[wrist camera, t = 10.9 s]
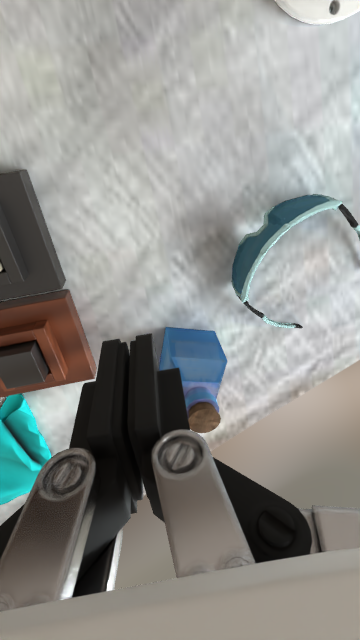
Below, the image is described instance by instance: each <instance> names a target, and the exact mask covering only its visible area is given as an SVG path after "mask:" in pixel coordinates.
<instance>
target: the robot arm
mask: <svg viewBox="0 0 360 640" xmlns="http://www.w3.org/2000/svg"><path fill="white" fill-rule="evenodd" d="M274 1H275V2H276V3H277V4H278V6H279V7H280V8H281V9H283V10H284V11H285V12H286V13H287V14H289V15H290V16H291V17H293V18H295V19H297V20H299V21H302V22H304V23H309V24H315V25H321V24H331V23H334V22H337V21H340V20H343V19H345V18H347V17H349V16H350V15H352V14H354V13H356V12H358V11H359V10H360V0H274ZM329 8H330V9H331V13H330V12H329ZM143 484H144V487H145V491H146V494H147V497H148V498H149V500H150V504H151V507H152V510H153V513H154V515H156V516H157V517H158V518H159V519H161V520H162V521H163V522H164V523H165V525H166V530H167V535H168V540H169V544H170V549H171V554H172V558H173V563H174V568H175V572H176V577H177V578H175V579H170V580H164V581H159V582H153V583H149V584H143V585H138V586H132V587H127V588H123V589H116V590H114V584H115V578H116V573H117V567H118V561H119V555H120V549H121V544H122V537H123V529H122V528H123V526H124V525H125V524H126V523H127V522H128V520H129V519H130V516H131V514H132V513H137V500H142V499H143ZM0 640H360V508H344V507H328V506H312V509H298V508H296V507H295V506H294V505H292V504H291V503H289V502H288V501H286V500H285V499H283V498H281V497H280V496H278V495H276V494H275V493H273V492H271V491H269V490H268V489H266V488H264V487H262V486H261V485H259V484H258V483H256V482H254V481H252V480H251V479H249V478H247V477H246V476H244V475H242V474H241V473H239V472H237V471H235V470H234V469H232V468H230V467H229V466H227V465H225V464H224V463H222V462H220V461H219V460H217V459H215V458H213V457H212V455H211V453H210V450H209V448H208V445H207V443H206V442H205V440H204V439H203V437H201V436H200V435H199V434H198V433H196V432H193V431H190V426H189V420H188V415H187V409H186V403H185V397H184V392H183V386H182V380H181V374H180V369H179V367H178V368H172V369H166V370H160V371H159V366H158V361H157V356H156V351H155V346H154V341H153V336H152V334H146V335H140V336H136V340H135V341H131V342H130V354H129V350H128V346H127V343H126V342H123V343H121V341H120V339H115V340H109V341H103V343H102V348H101V354H100V360H99V366H98V371H97V377H96V381H94V382H88V383H85V384H84V385H83V387H82V392H81V396H80V401H79V405H78V410H77V414H76V419H75V424H74V428H73V433H72V437H71V442H70V447H69V449H66V450H64V451H61V452H59V453H57V454H56V455H54V456H53V457H52V458H50V459H49V460H48V461H47V462H46V463H45V464H44V465H43V467H42V469H41V470H40V472H39V474H38V476H37V478H36V480H35V482H34V485H33V487H32V489H31V491H30V494H29V496H28V498H27V500H26V503H25V504H24V505H23V506H22V507H21V508H20V509H18V510H17V511H16V512H15V513H14V514H13V515H12V516H11V517H10V518H8V519H7V520H6V521H5V522H4V523H3V524H2V525H1V526H0Z"/></svg>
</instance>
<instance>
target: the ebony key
mask: <svg viewBox="0 0 360 640" xmlns="http://www.w3.org/2000/svg"><path fill="white" fill-rule="evenodd" d="M48 371H49V369H48V367H47V364H46V362H45V360H44V358H43V356H42V353H41V351H40V349H39V347H38V344H37V342H36V341H30V342H25V343H20V344H15V345H10V346H4V347H0V378H1V380H2V381H3V383H4V385H5V387H6V389H11V388H16V387H21V386H26V385H31V384H36V383H41V382H45V379H46V377H47V374H48Z"/></svg>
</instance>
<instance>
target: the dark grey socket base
mask: <svg viewBox="0 0 360 640" xmlns="http://www.w3.org/2000/svg"><path fill="white" fill-rule="evenodd" d="M0 262H1V264H2V267H3V269H2V270H1V271H0V300H4V299H9V298H14V297H20V296H25V295H30V294H36V293H41V292H47V291H52V290H57V289H62V288H63V285H64V283H65V281H66V279H65V277H64V274H63V271H62V268H61V265H60V262H59V260H58V257H57V254H56V251H55V248H54V245H53V243H52V240H51V237H50V234H49V231H48V228H47V226H46V223H45V220H44V217H43V214H42V211H41V209H40V206H39V203H38V200H37V197H36V194H35V192H34V189H33V186H32V183H31V180H30V177H29V175H28V172H27V170H21V171H15V172H9V173H4V174H0Z"/></svg>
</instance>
